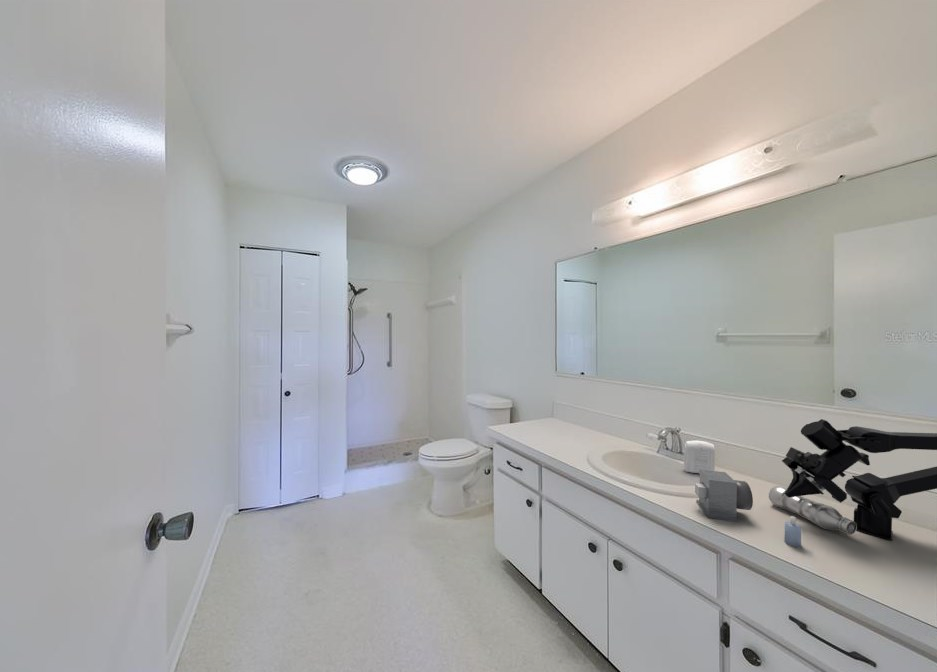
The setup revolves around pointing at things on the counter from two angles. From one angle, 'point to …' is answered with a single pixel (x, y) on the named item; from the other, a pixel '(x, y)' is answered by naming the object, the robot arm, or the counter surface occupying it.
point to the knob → (742, 494)
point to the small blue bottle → (792, 533)
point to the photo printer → (698, 456)
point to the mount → (719, 496)
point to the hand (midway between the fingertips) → (786, 495)
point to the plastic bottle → (812, 511)
